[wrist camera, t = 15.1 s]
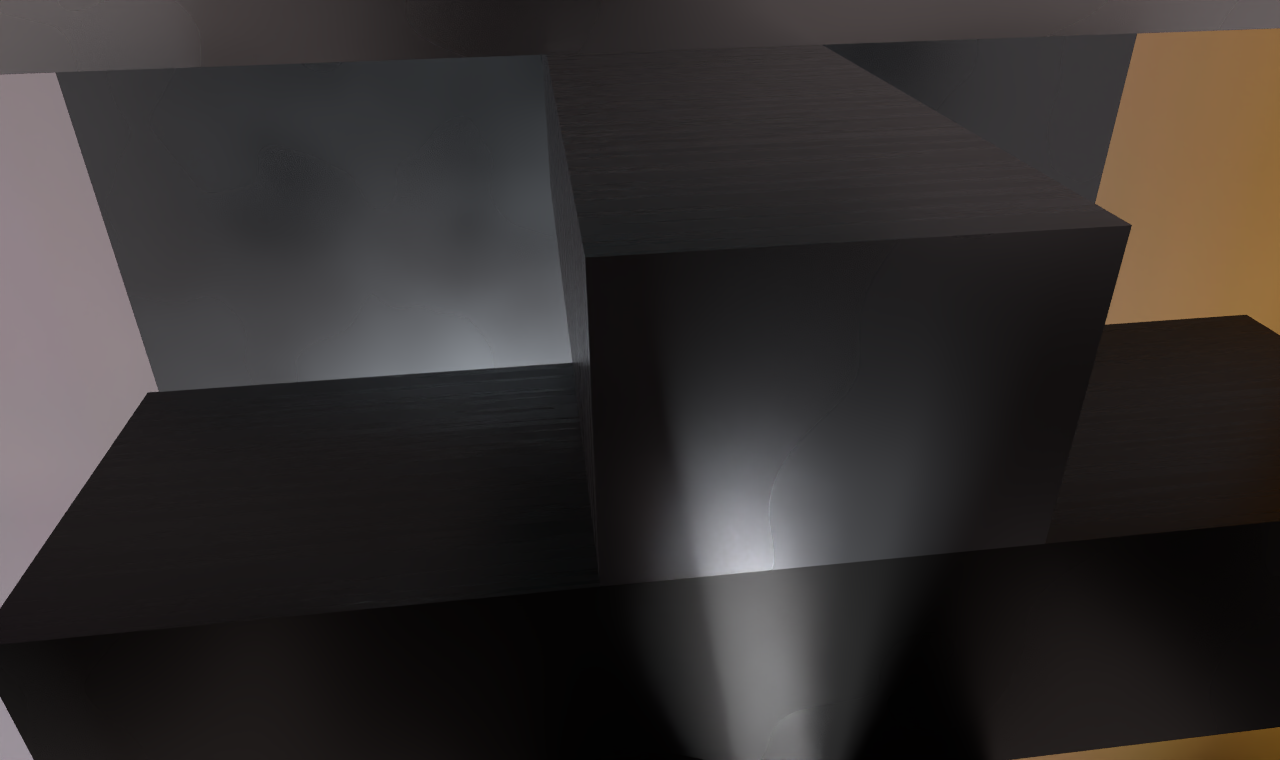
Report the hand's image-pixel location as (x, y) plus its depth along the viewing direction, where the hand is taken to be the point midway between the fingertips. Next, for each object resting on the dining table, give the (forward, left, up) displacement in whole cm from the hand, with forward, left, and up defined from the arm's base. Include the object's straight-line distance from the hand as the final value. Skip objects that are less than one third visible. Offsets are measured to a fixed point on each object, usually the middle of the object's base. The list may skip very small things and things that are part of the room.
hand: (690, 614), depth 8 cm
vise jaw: (0, -4, -4) cm, 6 cm away
